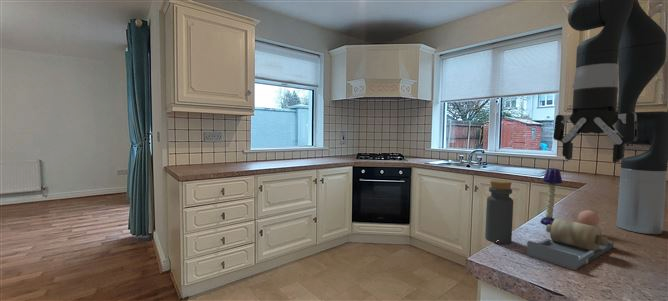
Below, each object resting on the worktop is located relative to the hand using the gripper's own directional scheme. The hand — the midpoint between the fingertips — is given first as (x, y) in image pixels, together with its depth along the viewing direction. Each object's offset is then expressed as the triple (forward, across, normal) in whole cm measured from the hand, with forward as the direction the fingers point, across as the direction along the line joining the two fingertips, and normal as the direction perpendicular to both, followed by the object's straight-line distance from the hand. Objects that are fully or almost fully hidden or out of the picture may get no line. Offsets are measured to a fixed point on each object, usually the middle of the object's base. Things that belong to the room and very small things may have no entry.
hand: (591, 160), depth 69 cm
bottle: (+21, +15, +10) cm, 28 cm away
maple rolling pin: (+21, +2, +1) cm, 21 cm away
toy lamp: (+22, +14, -17) cm, 31 cm away
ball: (+17, +2, -7) cm, 19 cm away
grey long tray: (+21, +2, +2) cm, 21 cm away
